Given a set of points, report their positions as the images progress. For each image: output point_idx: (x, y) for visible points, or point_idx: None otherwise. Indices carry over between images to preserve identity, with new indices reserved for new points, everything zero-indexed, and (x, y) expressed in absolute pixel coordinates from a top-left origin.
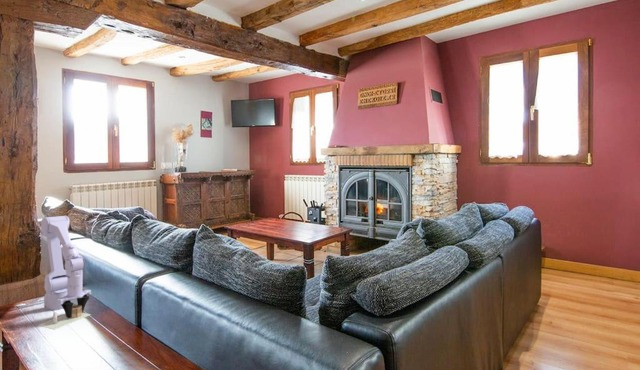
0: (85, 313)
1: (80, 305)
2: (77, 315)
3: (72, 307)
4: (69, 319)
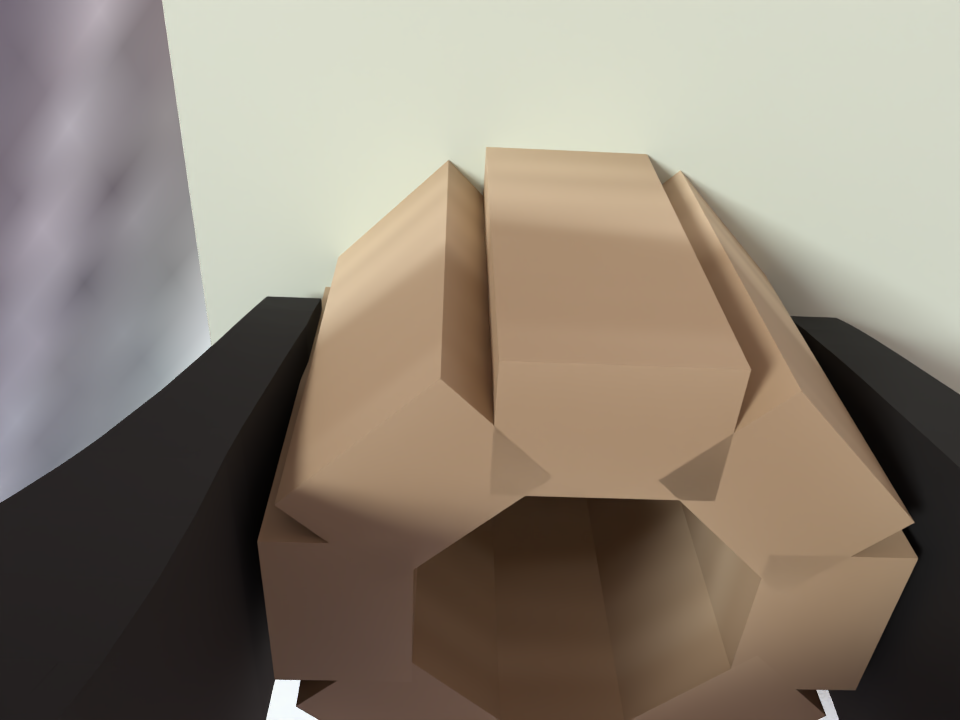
0: (212, 204)
1: (291, 577)
2: (657, 188)
3: (558, 684)
4: (876, 259)
